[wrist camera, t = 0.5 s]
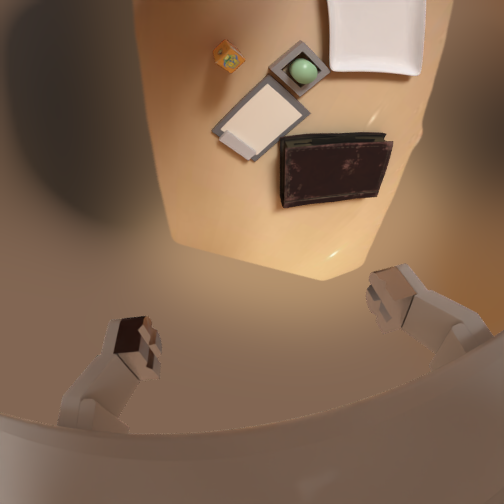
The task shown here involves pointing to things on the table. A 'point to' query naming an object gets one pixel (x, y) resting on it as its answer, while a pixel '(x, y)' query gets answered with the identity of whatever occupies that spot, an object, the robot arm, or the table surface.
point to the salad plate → (376, 36)
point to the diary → (332, 167)
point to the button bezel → (288, 57)
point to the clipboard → (260, 119)
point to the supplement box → (228, 56)
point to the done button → (303, 71)
